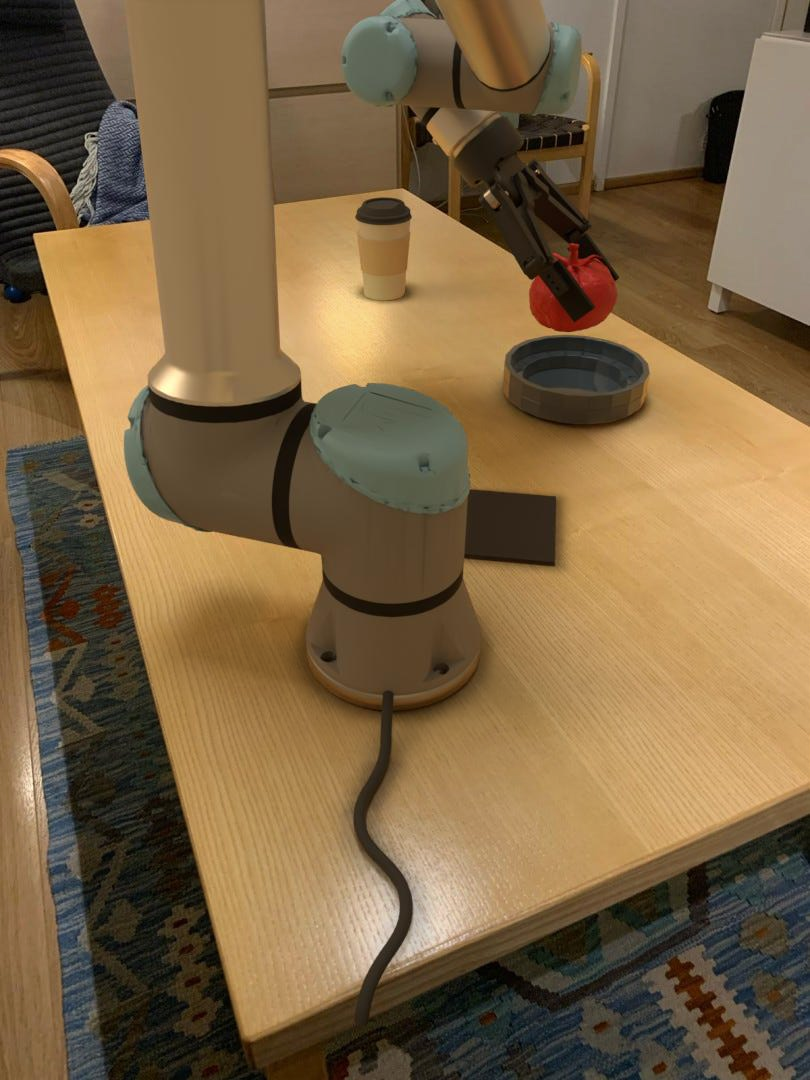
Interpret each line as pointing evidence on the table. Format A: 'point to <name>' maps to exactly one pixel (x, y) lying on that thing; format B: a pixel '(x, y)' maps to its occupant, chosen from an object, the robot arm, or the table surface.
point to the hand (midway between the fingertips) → (597, 299)
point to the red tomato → (593, 283)
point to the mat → (511, 527)
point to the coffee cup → (383, 246)
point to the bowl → (575, 379)
